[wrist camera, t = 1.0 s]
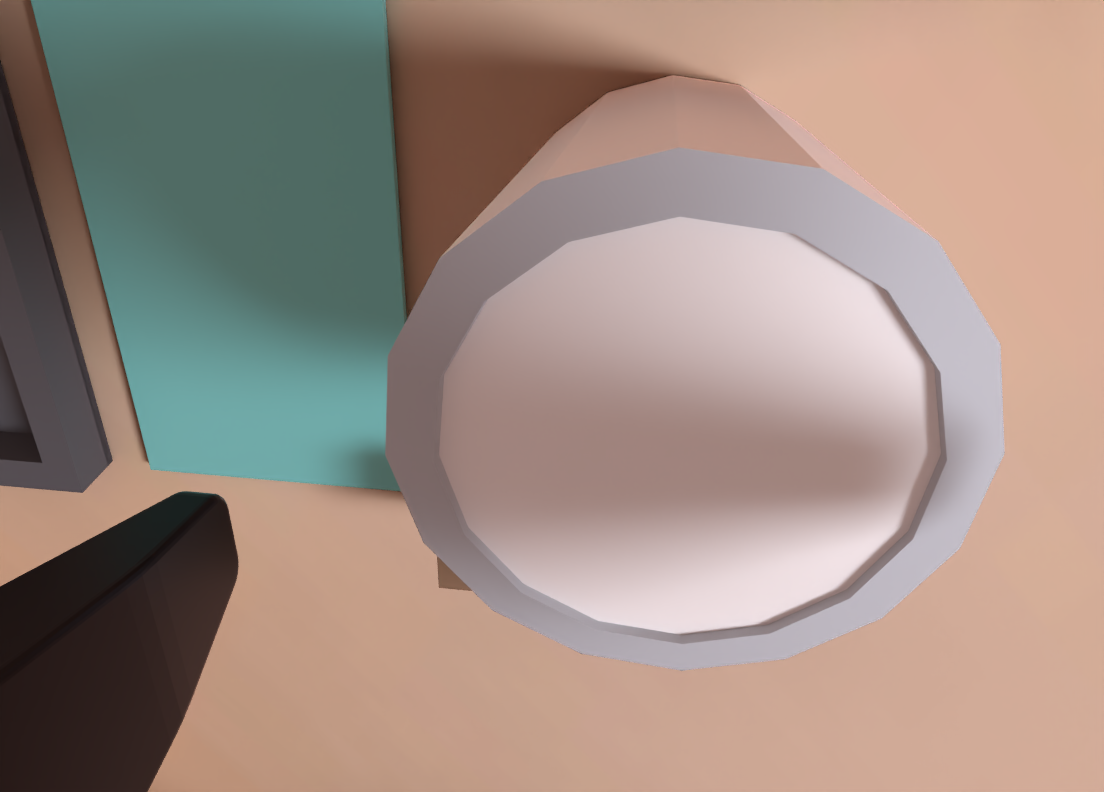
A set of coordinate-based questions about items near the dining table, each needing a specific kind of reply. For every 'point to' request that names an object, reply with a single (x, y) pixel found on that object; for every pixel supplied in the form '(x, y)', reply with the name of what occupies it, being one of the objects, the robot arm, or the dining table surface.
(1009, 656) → the dining table surface
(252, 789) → the dining table surface
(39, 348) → the trap pit
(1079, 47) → the dining table surface
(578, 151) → the white cup
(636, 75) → the dining table surface
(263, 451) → the teal pad
